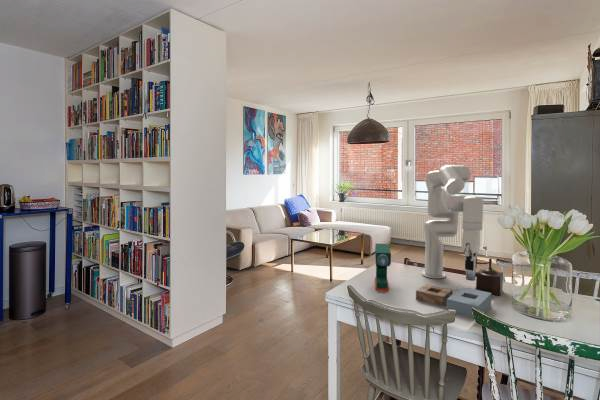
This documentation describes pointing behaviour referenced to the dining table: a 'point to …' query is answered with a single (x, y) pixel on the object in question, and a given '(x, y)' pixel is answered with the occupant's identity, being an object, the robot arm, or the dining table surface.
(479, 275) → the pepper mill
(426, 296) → the socket block
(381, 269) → the power tool
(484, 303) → the slotted box
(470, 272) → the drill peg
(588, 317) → the dining table surface
